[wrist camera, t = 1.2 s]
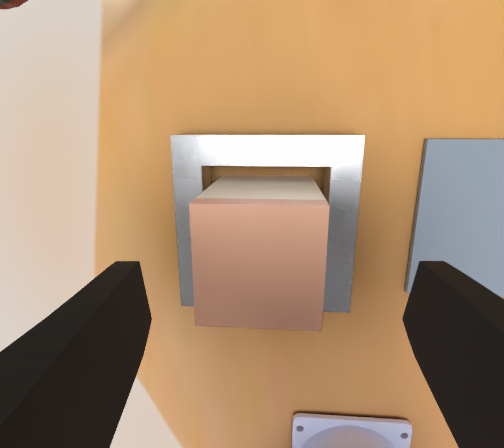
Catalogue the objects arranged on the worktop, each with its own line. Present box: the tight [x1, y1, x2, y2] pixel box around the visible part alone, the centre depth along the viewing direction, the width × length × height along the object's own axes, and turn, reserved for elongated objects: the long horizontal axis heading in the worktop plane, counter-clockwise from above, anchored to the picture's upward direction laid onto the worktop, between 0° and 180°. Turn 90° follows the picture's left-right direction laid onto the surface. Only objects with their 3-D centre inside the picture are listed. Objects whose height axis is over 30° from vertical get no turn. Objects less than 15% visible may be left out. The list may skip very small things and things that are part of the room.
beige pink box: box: [189, 174, 330, 331], centre depth 17 cm, size 5×5×8 cm
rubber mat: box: [405, 139, 504, 297], centre depth 19 cm, size 9×9×1 cm
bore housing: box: [170, 134, 365, 313], centre depth 19 cm, size 10×10×2 cm
